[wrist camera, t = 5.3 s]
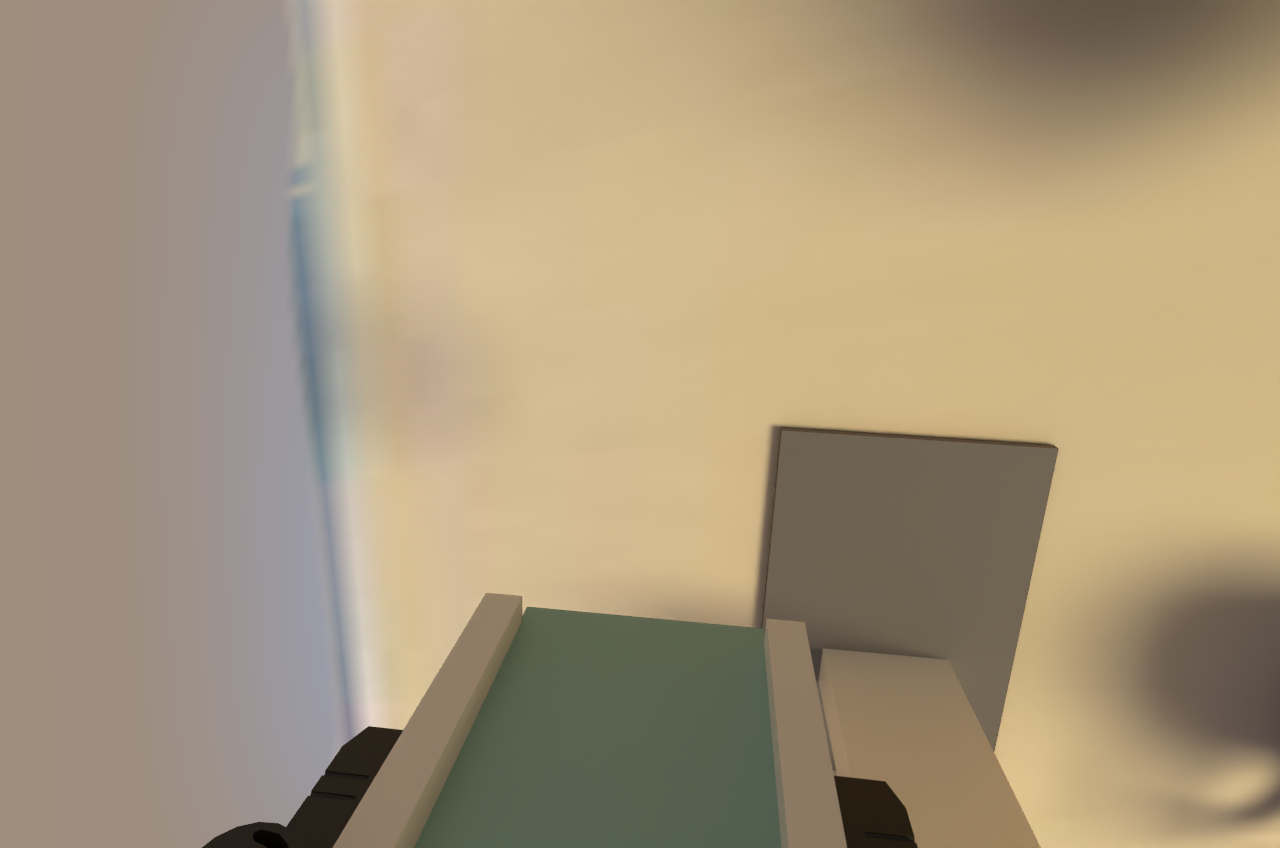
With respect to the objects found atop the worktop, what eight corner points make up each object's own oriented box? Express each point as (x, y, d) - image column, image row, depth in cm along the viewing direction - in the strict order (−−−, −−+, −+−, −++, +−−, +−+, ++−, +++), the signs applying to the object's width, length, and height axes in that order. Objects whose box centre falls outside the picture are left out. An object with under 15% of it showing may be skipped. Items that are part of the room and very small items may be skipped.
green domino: (527, 606, 16) (233, 1217, 6) (763, 629, 15) (827, 1321, 6) (527, 671, 16) (255, 1328, 7) (757, 694, 16) (805, 1433, 6)
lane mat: (780, 427, 29) (781, 430, 28) (1054, 445, 28) (1058, 448, 27) (720, 1057, 38) (720, 1065, 38) (919, 1085, 38) (921, 1094, 37)
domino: (822, 647, 31) (868, 850, 21) (948, 659, 30) (1052, 871, 21) (818, 681, 31) (861, 894, 22) (942, 693, 31) (1041, 915, 21)
